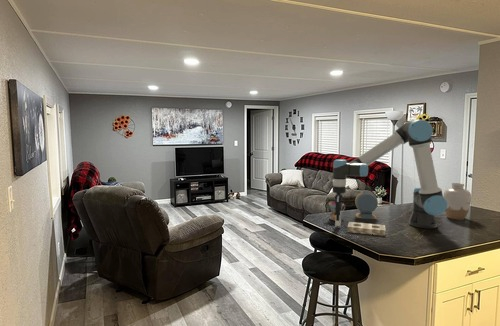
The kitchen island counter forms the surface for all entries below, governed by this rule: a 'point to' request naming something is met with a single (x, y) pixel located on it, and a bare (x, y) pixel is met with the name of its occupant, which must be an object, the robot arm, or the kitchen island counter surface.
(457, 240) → the kitchen island counter surface
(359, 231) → the hole block
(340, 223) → the peg
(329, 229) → the kitchen island counter surface
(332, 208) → the mug
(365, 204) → the alarm clock
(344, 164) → the robot arm
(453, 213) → the vase
